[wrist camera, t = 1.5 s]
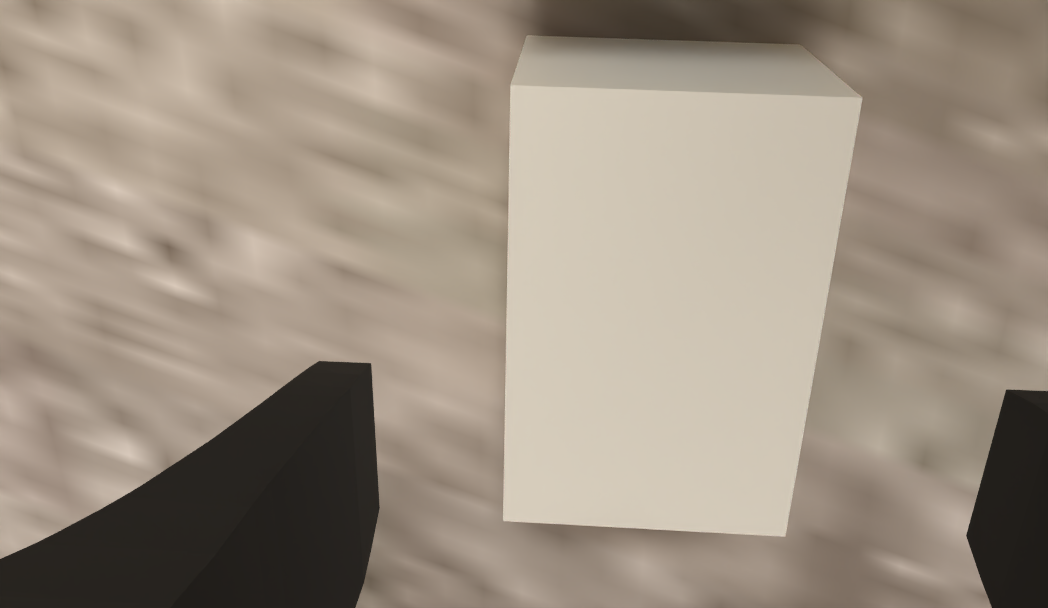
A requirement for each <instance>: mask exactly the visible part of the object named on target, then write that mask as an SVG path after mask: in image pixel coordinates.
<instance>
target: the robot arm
mask: <svg viewBox="0 0 1048 608" xmlns="http://www.w3.org/2000/svg"><path fill="white" fill-rule="evenodd" d="M378 513H379V492H378V474H377V457H376V440H375V423H374V406H373V388H372V371H371V363H351V362H327V361H319V362H317V363H316V364H314V365H312V366H311V367H309V368H308V369H306V370H305V371H304V372H302V373H301V374H300V375H298V376H297V377H295V378H294V379H293V380H291V381H290V382H289V383H287V384H286V385H285V386H283V387H282V388H281V389H279V390H278V391H277V392H275V393H274V394H273V395H272V396H270V397H269V398H268V399H266V400H265V401H264V402H262V403H261V404H260V405H258V406H257V407H255V408H254V409H253V410H251V411H250V412H249V413H247V414H246V415H245V416H243V417H242V418H240V419H239V420H238V421H236V422H235V423H234V424H232V425H231V426H229V427H228V428H227V429H225V430H224V431H223V432H221V433H220V434H219V435H217V436H216V437H214V438H213V439H212V440H210V441H209V442H207V443H206V444H204V445H203V446H201V447H200V448H198V449H197V450H195V451H193V452H192V453H190V454H189V455H187V456H186V457H184V458H183V459H181V460H180V461H178V462H177V463H175V464H174V465H172V466H171V467H169V468H168V469H166V470H165V471H163V472H161V473H160V474H158V475H157V476H155V477H154V478H152V479H151V480H149V481H148V482H146V483H145V484H143V485H142V486H140V487H138V488H137V489H135V490H133V491H132V492H130V493H128V494H127V495H125V496H123V497H122V498H120V499H118V500H116V501H115V502H113V503H111V504H109V505H108V506H106V507H104V508H102V509H101V510H99V511H97V512H95V513H93V514H91V515H89V516H87V517H86V518H84V519H82V520H80V521H78V522H76V523H74V524H72V525H70V526H69V527H67V528H65V529H63V530H61V531H59V532H57V533H55V534H53V535H51V536H49V537H47V538H45V539H43V540H41V541H39V542H37V543H35V544H33V545H31V546H29V547H26V548H24V549H22V550H20V551H17V552H15V553H13V554H11V555H8V556H6V557H4V558H2V559H0V608H355V607H356V604H357V601H358V598H359V595H360V592H361V589H362V586H363V583H364V579H365V575H366V570H367V566H368V561H369V557H370V552H371V547H372V542H373V537H374V533H375V528H376V523H377V518H378ZM966 536H967V539H968V542H969V545H970V548H971V551H972V554H973V557H974V560H975V563H976V566H977V569H978V572H979V574H980V577H981V580H982V583H983V585H984V588H985V591H986V593H987V596H988V598H989V601H990V604H991V606H992V608H1048V391H1027V390H1006V393H1005V396H1004V400H1003V404H1002V407H1001V411H1000V415H999V418H998V422H997V425H996V429H995V433H994V436H993V440H992V444H991V447H990V451H989V455H988V458H987V462H986V466H985V469H984V473H983V477H982V480H981V484H980V488H979V491H978V495H977V499H976V502H975V506H974V510H973V513H972V517H971V520H970V524H969V528H968V531H967V535H966Z"/></svg>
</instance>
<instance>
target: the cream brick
mask: <svg viewBox="0 0 1048 608" xmlns="http://www.w3.org/2000/svg"><path fill="white" fill-rule="evenodd" d="M861 104H862V97H861V96H860V95H859V94H858V93H856V92H855V91H854V90H853V89H852V88H851V87H849V86H848V85H847V84H846V83H845V82H844V81H842V80H841V79H840V78H839V77H838V76H837V75H836V74H834V73H833V72H832V71H831V70H830V69H829V68H827V67H826V66H825V65H824V64H823V63H822V62H820V61H819V60H818V59H817V58H816V57H815V56H813V55H812V54H811V53H810V52H809V51H808V50H806V49H805V48H804V47H803V46H802V45H800V44H770V43H740V42H710V41H680V40H650V39H620V38H590V37H560V36H530V35H527V36H526V39H525V42H524V45H523V48H522V51H521V55H520V58H519V61H518V64H517V67H516V70H515V73H514V76H513V79H512V82H511V85H510V144H509V203H508V262H507V321H506V380H505V439H504V498H503V521H511V522H529V523H547V524H565V525H583V526H601V527H619V528H637V529H655V530H673V531H691V532H710V533H728V534H746V535H764V536H782V537H785V536H786V530H787V524H788V518H789V513H790V507H791V501H792V496H793V490H794V484H795V479H796V473H797V467H798V462H799V456H800V450H801V445H802V439H803V433H804V428H805V422H806V416H807V411H808V405H809V399H810V394H811V388H812V382H813V377H814V371H815V365H816V360H817V354H818V348H819V342H820V337H821V331H822V325H823V320H824V314H825V308H826V303H827V297H828V291H829V286H830V280H831V274H832V269H833V263H834V257H835V252H836V246H837V240H838V235H839V229H840V223H841V218H842V212H843V206H844V201H845V195H846V189H847V184H848V178H849V172H850V166H851V161H852V155H853V149H854V144H855V138H856V132H857V127H858V121H859V115H860V110H861Z"/></svg>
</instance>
